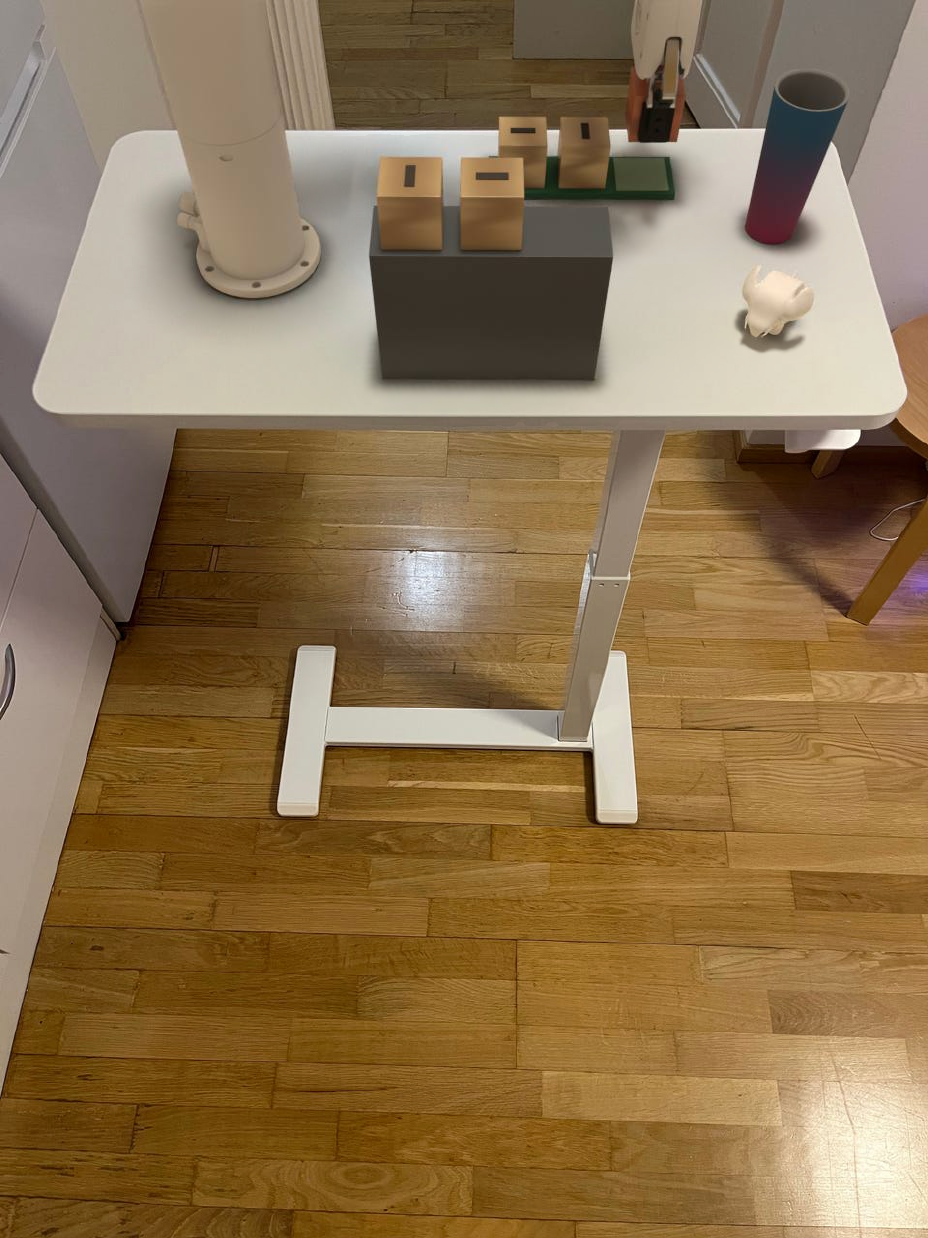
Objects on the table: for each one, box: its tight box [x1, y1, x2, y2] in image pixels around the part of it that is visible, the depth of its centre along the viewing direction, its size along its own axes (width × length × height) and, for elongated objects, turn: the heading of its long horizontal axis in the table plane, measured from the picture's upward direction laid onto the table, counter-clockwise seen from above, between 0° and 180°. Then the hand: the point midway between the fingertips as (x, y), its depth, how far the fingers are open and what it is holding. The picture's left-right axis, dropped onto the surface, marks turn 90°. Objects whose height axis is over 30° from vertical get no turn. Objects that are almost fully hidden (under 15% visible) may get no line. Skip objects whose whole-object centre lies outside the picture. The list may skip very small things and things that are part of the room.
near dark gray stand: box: [368, 156, 614, 381], centre depth 85 cm, size 20×6×19 cm, turn 89°
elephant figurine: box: [741, 264, 815, 338], centre depth 92 cm, size 7×8×6 cm
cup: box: [744, 67, 851, 245], centre depth 96 cm, size 7×7×15 cm
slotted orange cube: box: [624, 66, 687, 143], centre depth 99 cm, size 5×5×5 cm
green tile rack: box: [488, 116, 676, 201], centre depth 104 cm, size 20×6×6 cm, turn 89°
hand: (650, 121), depth 101 cm, fingers closed on slotted orange cube, 5 cm apart
